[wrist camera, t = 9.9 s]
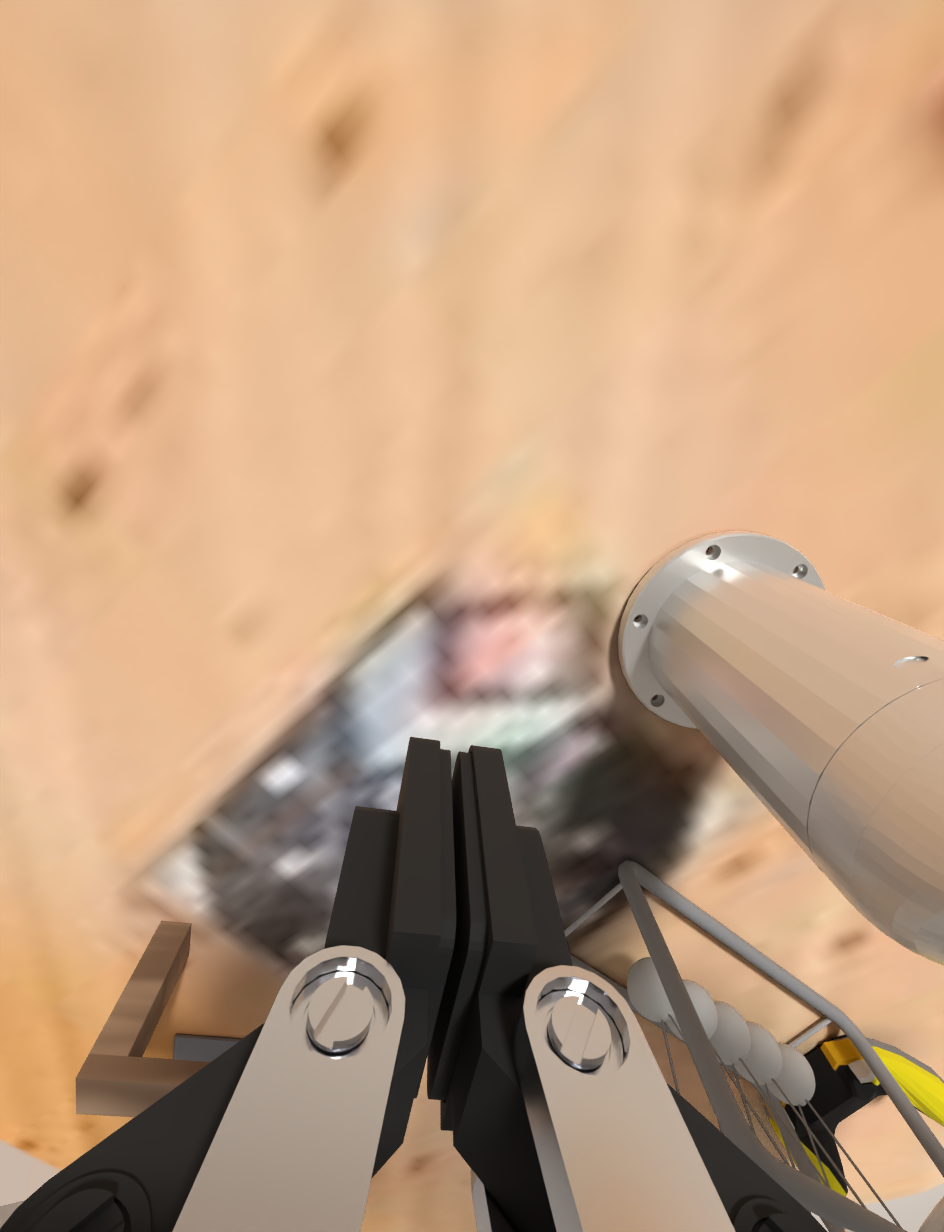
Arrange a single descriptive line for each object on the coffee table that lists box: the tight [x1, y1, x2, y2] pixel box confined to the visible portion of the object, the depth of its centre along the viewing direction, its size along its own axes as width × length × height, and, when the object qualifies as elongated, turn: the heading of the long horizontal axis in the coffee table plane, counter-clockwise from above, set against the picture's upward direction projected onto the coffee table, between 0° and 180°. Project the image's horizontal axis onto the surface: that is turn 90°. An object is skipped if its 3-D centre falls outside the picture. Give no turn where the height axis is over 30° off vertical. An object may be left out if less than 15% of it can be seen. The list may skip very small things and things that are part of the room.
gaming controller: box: [765, 1037, 944, 1197], centre depth 47 cm, size 15×6×10 cm
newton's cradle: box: [564, 860, 944, 1232], centre depth 36 cm, size 30×10×18 cm, turn 49°
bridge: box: [76, 921, 210, 1117], centre depth 35 cm, size 3×15×10 cm, turn 78°
